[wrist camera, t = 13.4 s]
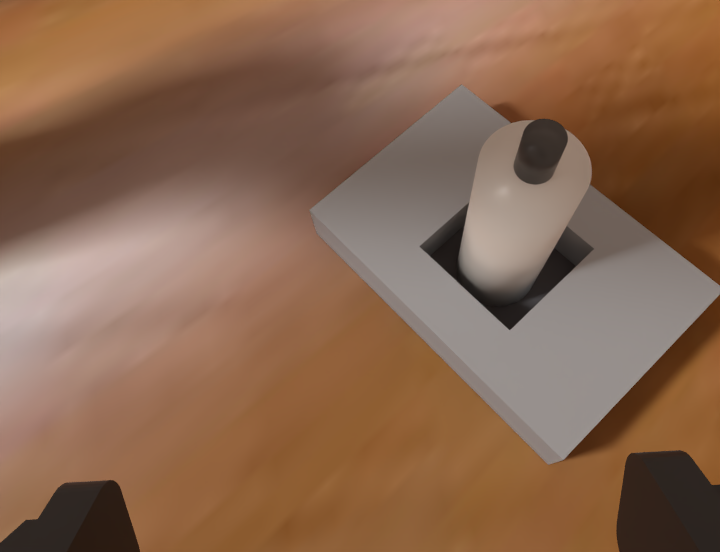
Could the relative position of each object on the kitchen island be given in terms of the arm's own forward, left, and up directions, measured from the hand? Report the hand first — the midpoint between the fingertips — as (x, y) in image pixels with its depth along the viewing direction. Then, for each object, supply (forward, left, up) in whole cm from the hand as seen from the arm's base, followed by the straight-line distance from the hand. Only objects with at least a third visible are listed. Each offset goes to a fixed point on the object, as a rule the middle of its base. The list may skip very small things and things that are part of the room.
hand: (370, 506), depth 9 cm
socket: (-5, +13, -21) cm, 26 cm away
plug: (-5, +13, -21) cm, 25 cm away
